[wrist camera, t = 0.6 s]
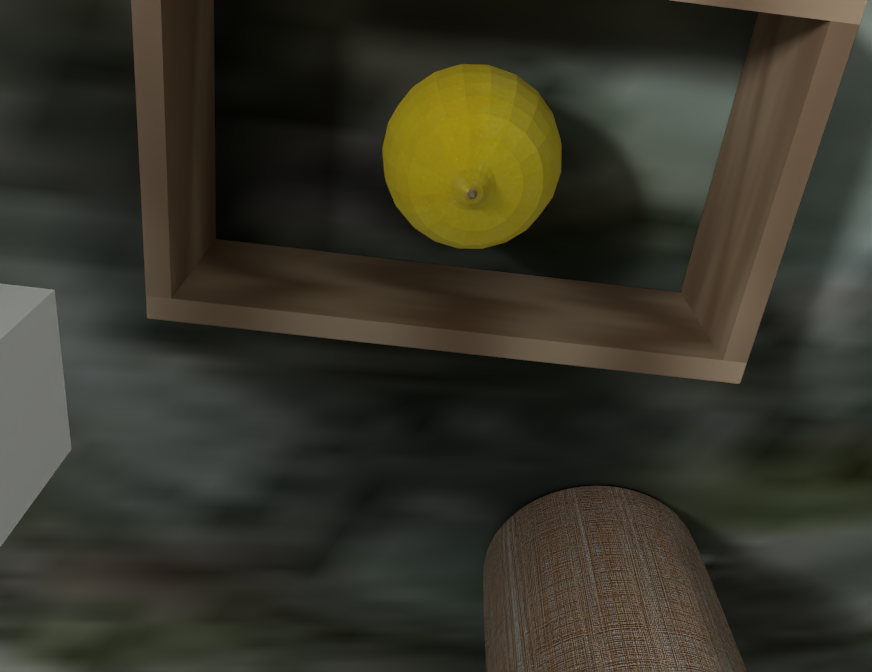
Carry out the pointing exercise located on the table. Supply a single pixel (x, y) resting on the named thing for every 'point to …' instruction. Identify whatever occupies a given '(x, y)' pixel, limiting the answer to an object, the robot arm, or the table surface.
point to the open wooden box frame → (483, 289)
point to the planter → (601, 590)
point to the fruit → (472, 156)
